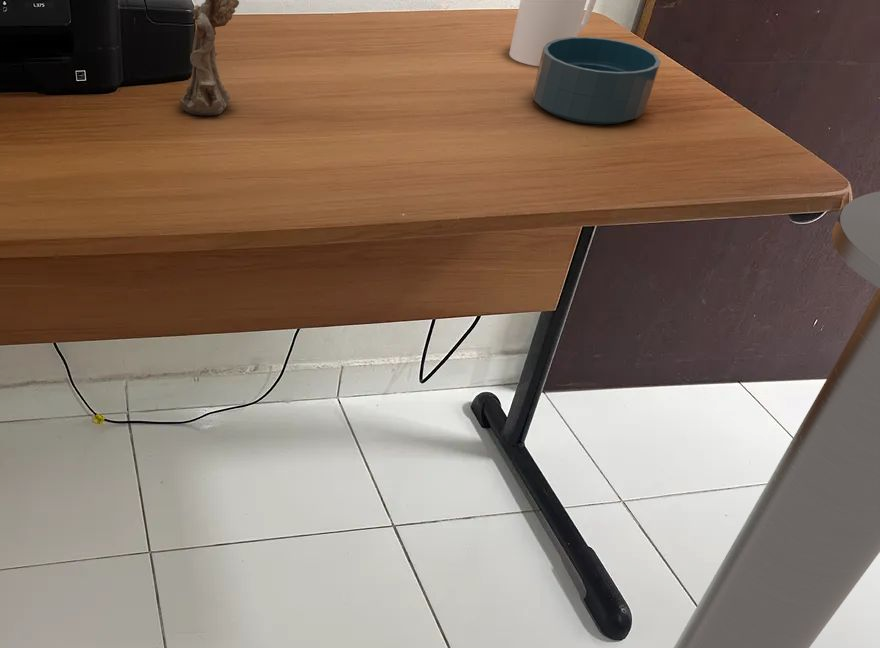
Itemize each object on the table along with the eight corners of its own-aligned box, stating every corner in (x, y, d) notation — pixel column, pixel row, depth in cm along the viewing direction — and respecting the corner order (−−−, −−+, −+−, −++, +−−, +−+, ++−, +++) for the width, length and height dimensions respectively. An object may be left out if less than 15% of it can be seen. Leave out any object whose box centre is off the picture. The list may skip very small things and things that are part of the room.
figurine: (189, 94, 108) (187, -47, 98) (238, 98, 107) (241, -43, 97) (176, 117, 103) (173, -30, 92) (228, 121, 102) (230, -26, 92)
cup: (604, 57, 122) (627, -25, 115) (538, 70, 117) (558, -15, 110) (561, 40, 127) (581, -40, 120) (496, 52, 122) (513, -31, 116)
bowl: (663, 125, 104) (681, 71, 100) (558, 129, 102) (572, 74, 98) (612, 86, 113) (627, 35, 109) (515, 89, 112) (526, 38, 108)
